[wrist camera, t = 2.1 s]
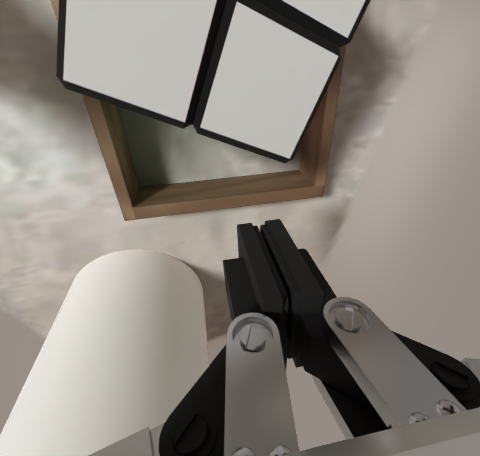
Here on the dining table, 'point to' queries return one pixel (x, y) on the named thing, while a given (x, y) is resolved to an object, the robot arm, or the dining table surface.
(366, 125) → the dining table surface
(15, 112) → the dining table surface
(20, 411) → the canister
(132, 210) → the wooden frame
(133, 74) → the puzzle cube
